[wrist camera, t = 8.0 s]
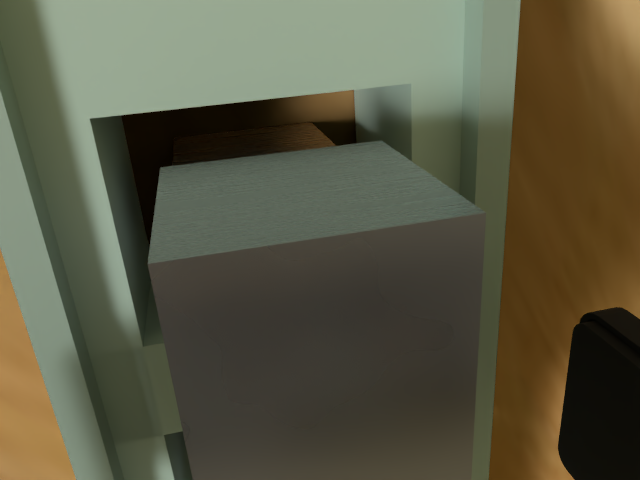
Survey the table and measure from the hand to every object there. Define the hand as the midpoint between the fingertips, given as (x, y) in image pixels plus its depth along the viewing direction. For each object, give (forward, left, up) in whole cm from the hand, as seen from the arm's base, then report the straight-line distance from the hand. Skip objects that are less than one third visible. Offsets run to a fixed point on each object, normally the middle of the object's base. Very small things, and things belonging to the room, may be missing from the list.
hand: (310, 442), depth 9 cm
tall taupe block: (0, 0, -6) cm, 6 cm away
